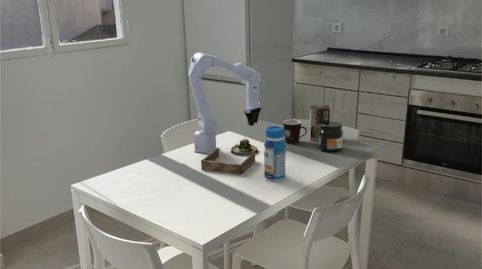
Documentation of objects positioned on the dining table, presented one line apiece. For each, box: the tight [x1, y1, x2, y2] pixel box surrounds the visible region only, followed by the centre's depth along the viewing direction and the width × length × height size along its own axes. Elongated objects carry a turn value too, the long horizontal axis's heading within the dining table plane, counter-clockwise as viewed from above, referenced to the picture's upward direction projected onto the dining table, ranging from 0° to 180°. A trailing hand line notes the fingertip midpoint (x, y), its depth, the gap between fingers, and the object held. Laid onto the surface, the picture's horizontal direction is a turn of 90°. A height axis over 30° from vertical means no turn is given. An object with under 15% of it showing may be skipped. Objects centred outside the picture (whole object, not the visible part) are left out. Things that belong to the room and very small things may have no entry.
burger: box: [230, 138, 258, 155], centre depth 206 cm, size 12×12×8 cm
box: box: [200, 148, 256, 176], centre depth 191 cm, size 18×16×4 cm
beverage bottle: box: [263, 125, 287, 182], centre depth 175 cm, size 8×8×20 cm
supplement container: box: [318, 120, 344, 153], centre depth 206 cm, size 10×10×12 cm
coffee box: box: [309, 104, 331, 142], centre depth 220 cm, size 9×6×16 cm
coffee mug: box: [282, 119, 308, 145], centre depth 215 cm, size 12×9×10 cm
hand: (253, 124), depth 215 cm, fingers open, 4 cm apart
